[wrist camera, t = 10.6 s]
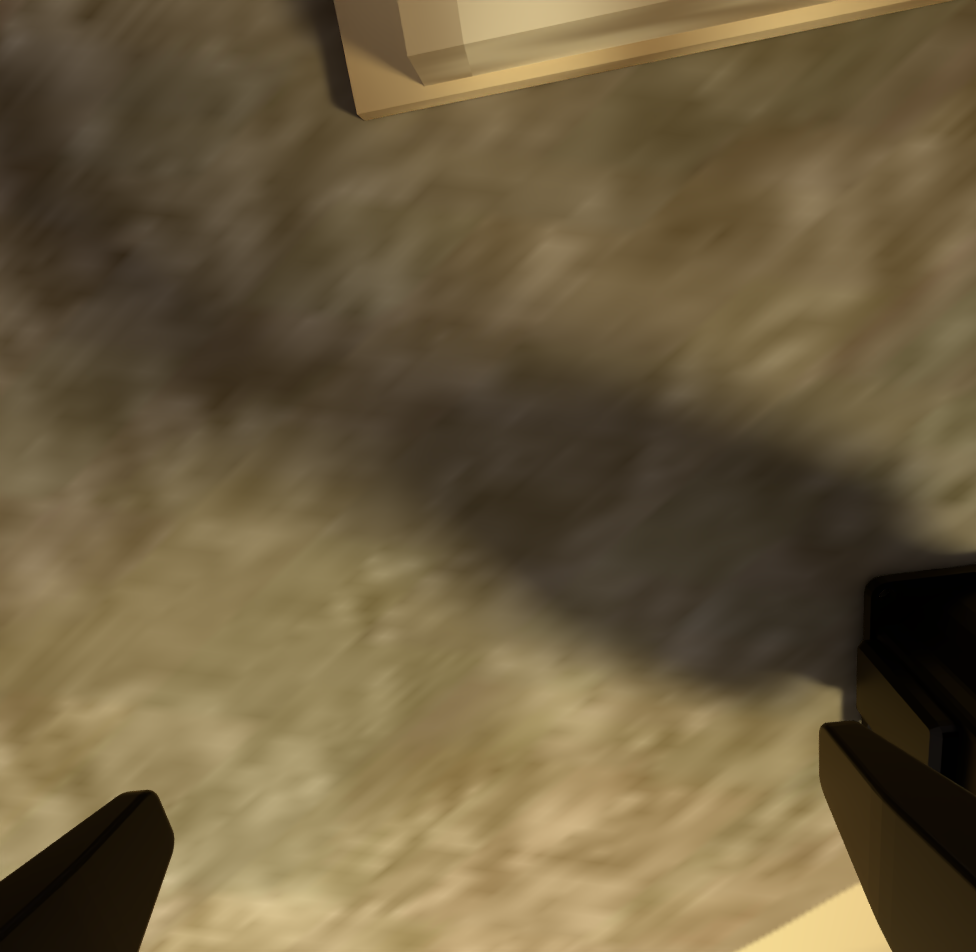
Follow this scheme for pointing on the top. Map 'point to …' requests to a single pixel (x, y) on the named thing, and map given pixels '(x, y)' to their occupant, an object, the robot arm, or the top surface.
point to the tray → (549, 40)
